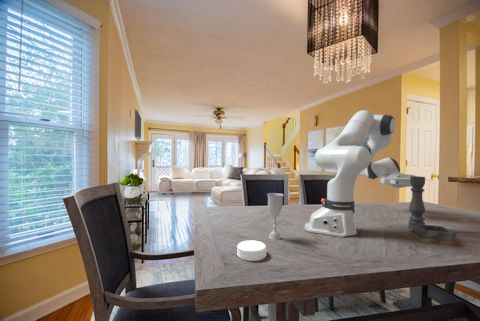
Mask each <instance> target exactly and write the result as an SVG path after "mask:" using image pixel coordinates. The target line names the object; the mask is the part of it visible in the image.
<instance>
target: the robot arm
mask: <svg viewBox="0 0 480 321" xmlns="http://www.w3.org/2000/svg"><path fill="white" fill-rule="evenodd" d="M395 128H396V118H395V117H394V116H392V115H389V114H373V113H372V111H369V110H365V109H362V110H359V111H357V112H356V113H354V114H353V116H352V117H351V118H350V119H349V120H348V122H347V123H346V125H345V127H344V128H343V130H342V131H341V133H340V134H339V135H337V137H336V138H334V139H333V140H332V141H330V142H329V143H328V144H326V145H324V146H323V147H320V148H319V149H317V150H316V152H315V155H314V161H315V164H316V165H317V167H319V168H323V169H325V170H335V171H336V170H337V172H336V175H335V177H333V178H331V179H330V180H329V181H327V185H326V186H327V187H326V199H325V198H321V200H320V201H321V203H322V204H321V205H322V206H321V207H319V208H318V209H317V210H314V212H312V213H311V215H310V216H309V217H310V218H309V221H308V222H307V221H306V222H305V224H304V230H306V231H307V232H308V233H315V234H321V235H328V236H333V237H340V238H345V237H348V236H355V235H356V234H358V232H357V231H358V230H357V228H356V223H355V215H354V214H355V208H356V207H355V206H356V205H355V201H354V192H355V184H356V181H357V178H358V177H359V175H360V174H361V173H362V172H364V174H365V177H366V178H368V179H370V180H375V179H378V178H379V179H378V182H380V184H382V185H386V186H387V185H388V186H390V187H393V188H396V189H401V188H407V187H409V188H410V187H411V188H412V186H411V183H410V176H416V175H415V174H405V173H403V172H402V173H401V168H400V165H399V162H398V161H397V160H396V159H394V158H393V157H390V156H389V157H388V156H387V157H385V158H382V159H379V160H377V161H375V160H374V159H375V156H376V155H377V154H378V153H379V152H381V151H383V150H384V149H386V148H388V146H390V145H391V144H392V141H393V133H394V131H395ZM367 139H368V141H367V144H366V145H365V146H363V145H364V144H365V141H366V140H367ZM425 184H426V183H425ZM425 184H424V186H425Z"/></svg>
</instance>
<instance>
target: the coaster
mask: <svg viewBox="0 0 480 321" xmlns="http://www.w3.org/2000/svg"><path fill="white" fill-rule="evenodd" d="M236 248H237V249H236V252H237V257H238V258H239V259H241V260H244V261H249V262H257V261H258V262H259V261H262V260H264V259H265V258H266V257H267V245H266V244H265V243H264V242H262V241H259V240H253V239H251V240H250V239H248V240H243V241H240V242H239V243H238V244H237V245H236Z"/></svg>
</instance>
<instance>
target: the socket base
mask: <svg viewBox="0 0 480 321" xmlns="http://www.w3.org/2000/svg"><path fill="white" fill-rule="evenodd" d="M409 234H410V235H412V236H413V237H414V238H416V239H417V240H418V241H420V242H421V243H425V244H432V243H433V245H444V246H453V247H461V242H460V241H458V240H457V233H455V232H454V231H452V230H450V229H448V228H446V227H445V226H442V225H432V224H425V225H421V224H413V229H410V230H409Z"/></svg>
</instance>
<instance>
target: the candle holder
mask: <svg viewBox="0 0 480 321" xmlns="http://www.w3.org/2000/svg"><path fill="white" fill-rule="evenodd" d="M410 183H411V186H412V187H411V188H410V191H411V200H410V204H409V207H408V210H409V213H411V215H410V216H409V220H408V229H410V230H413V224H421V225H426V222H425V218H424V214H425V213H426V207H425V204H424V200H423V193H424V192H425V189H424V186H425V185H424V184H426V176H417V175H415V176H410Z"/></svg>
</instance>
